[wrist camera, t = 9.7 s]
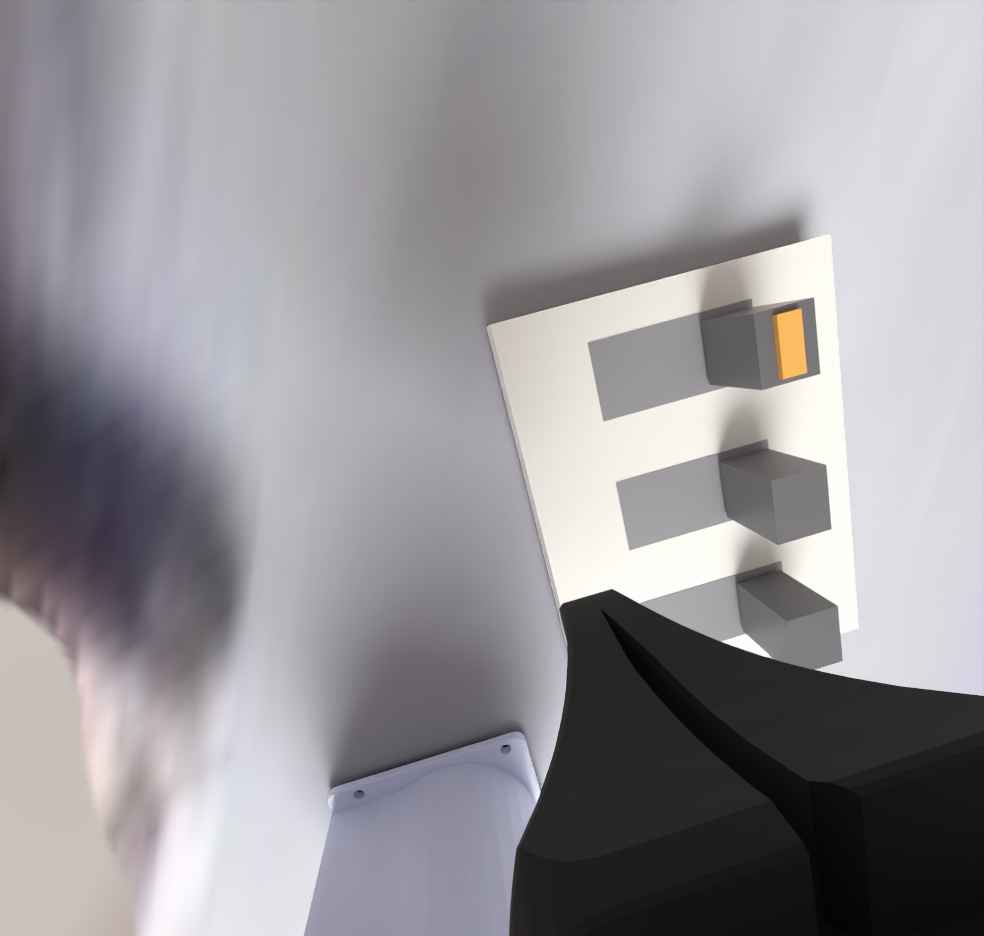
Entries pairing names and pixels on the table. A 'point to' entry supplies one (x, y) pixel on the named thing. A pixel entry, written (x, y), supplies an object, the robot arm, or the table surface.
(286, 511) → the table surface
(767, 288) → the breaker panel
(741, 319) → the breaker
